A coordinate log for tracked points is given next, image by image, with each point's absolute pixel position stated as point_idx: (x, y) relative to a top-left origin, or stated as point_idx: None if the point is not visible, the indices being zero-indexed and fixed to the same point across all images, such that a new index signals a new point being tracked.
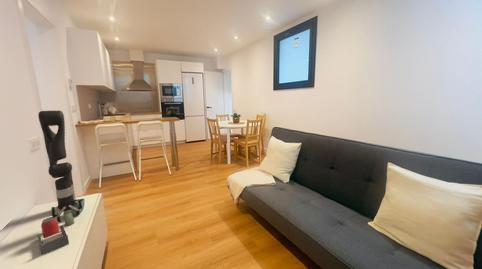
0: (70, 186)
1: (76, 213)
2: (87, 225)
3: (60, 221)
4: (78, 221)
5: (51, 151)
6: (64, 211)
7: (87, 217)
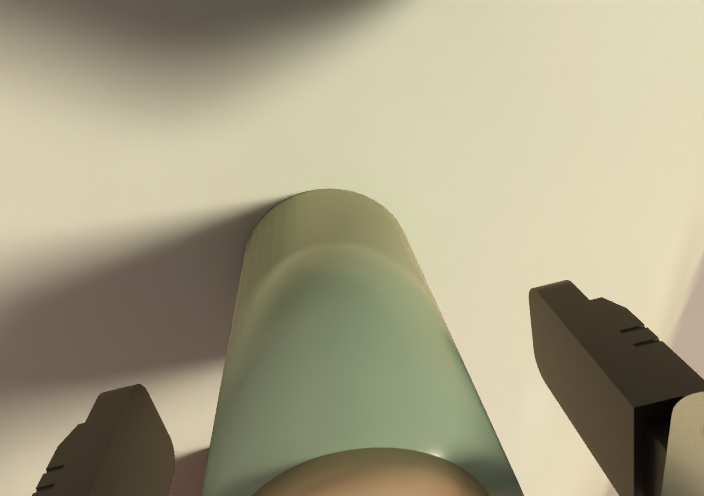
0: None
1: (570, 370)
2: (596, 477)
3: (164, 480)
4: (487, 256)
5: None
6: None
7: (667, 175)
